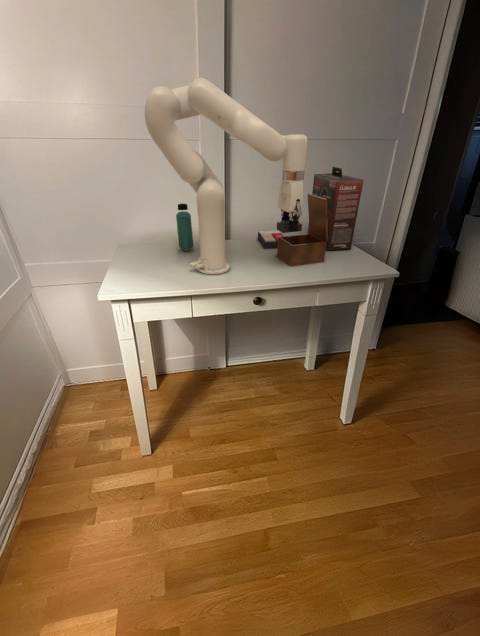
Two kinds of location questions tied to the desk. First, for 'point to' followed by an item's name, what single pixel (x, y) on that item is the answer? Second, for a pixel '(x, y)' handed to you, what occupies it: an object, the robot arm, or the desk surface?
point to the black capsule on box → (287, 226)
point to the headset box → (339, 206)
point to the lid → (318, 215)
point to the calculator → (269, 238)
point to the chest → (301, 249)
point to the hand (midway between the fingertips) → (288, 228)
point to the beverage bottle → (184, 228)
